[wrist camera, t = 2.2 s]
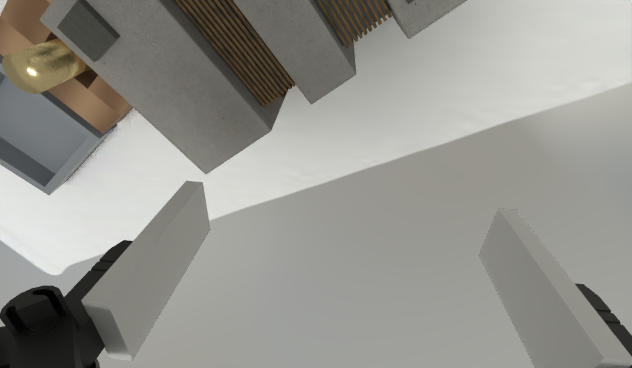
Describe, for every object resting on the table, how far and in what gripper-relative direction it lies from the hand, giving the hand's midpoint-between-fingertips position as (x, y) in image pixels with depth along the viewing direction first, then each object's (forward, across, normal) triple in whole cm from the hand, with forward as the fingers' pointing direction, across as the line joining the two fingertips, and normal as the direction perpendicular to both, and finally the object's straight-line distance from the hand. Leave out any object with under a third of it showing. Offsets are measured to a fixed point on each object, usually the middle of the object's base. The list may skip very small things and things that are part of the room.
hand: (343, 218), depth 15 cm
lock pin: (+22, -26, +3) cm, 34 cm away
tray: (+23, -37, -6) cm, 44 cm away
